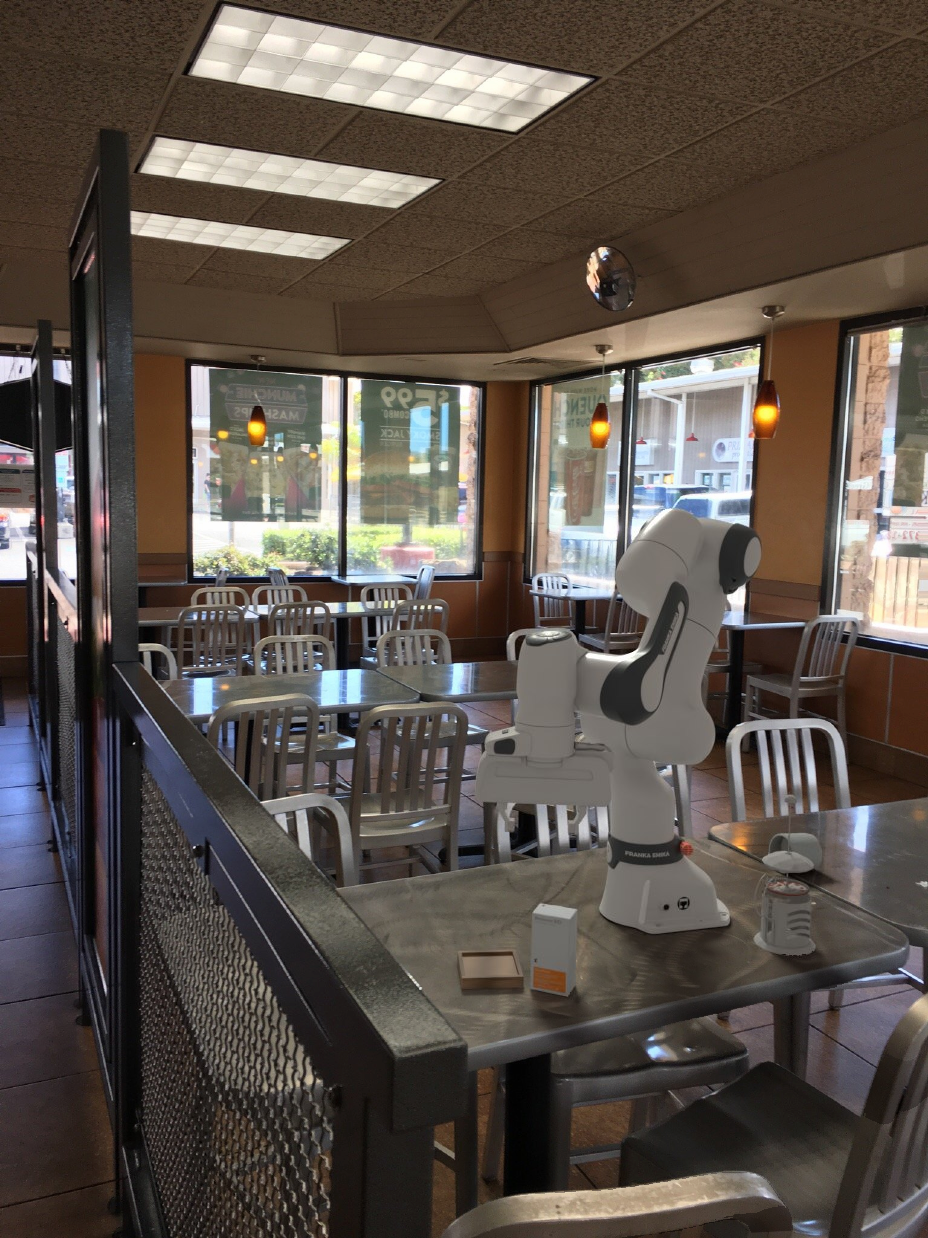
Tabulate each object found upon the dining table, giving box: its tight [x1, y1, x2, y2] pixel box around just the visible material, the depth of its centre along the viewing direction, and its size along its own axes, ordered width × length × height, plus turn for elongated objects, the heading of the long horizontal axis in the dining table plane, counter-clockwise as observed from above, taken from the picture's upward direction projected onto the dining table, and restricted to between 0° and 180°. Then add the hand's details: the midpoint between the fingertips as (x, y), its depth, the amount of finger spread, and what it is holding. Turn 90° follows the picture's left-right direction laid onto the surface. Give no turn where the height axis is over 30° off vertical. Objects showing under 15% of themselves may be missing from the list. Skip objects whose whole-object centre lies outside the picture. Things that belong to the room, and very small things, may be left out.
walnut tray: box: [457, 949, 525, 990], centre depth 152 cm, size 9×9×2 cm
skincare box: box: [529, 903, 579, 998], centre depth 147 cm, size 6×4×12 cm
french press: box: [753, 794, 816, 957], centre depth 163 cm, size 10×12×25 cm
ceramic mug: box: [767, 832, 824, 875], centre depth 199 cm, size 11×8×8 cm
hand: (541, 832), depth 148 cm, fingers open, 8 cm apart
